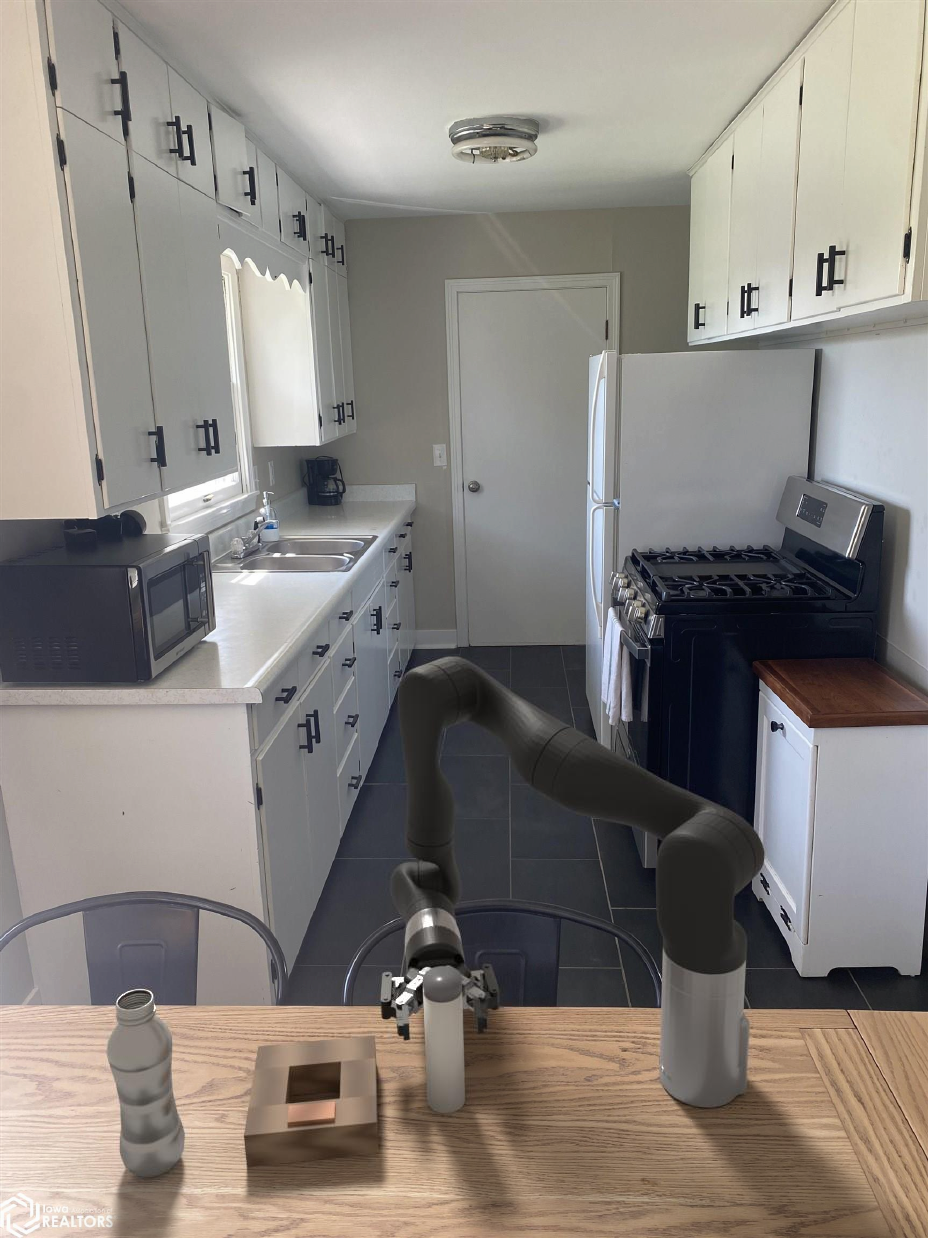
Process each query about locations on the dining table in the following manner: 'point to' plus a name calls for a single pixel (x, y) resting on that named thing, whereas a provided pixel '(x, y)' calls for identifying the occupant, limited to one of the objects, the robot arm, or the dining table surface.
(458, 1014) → the plug
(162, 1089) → the plastic bottle
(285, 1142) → the socket block
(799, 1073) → the dining table surface
